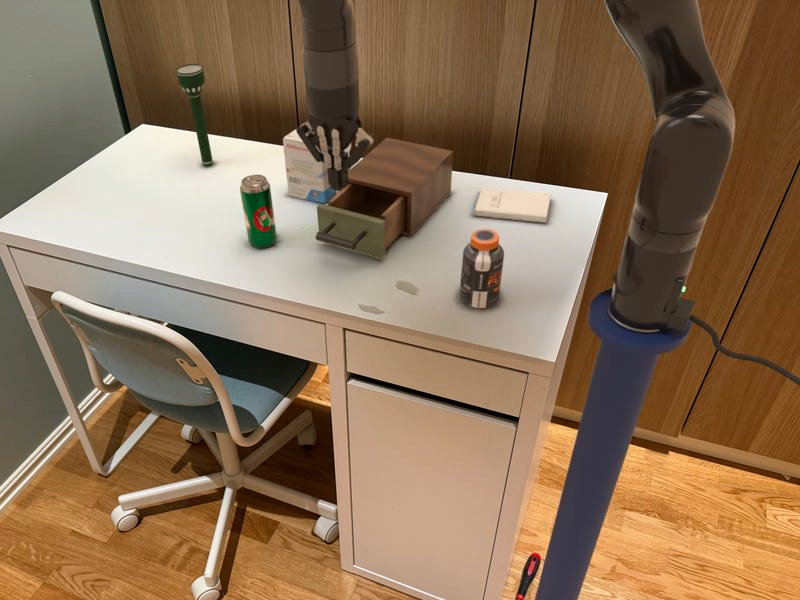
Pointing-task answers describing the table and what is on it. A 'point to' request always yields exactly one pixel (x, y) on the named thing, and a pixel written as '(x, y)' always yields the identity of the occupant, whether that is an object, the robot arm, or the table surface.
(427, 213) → the cabinet
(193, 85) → the flashlight
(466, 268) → the pill bottle
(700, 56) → the robot arm
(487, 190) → the hard drive
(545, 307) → the table surface
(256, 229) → the soda can
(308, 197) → the ink box
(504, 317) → the table surface
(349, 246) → the drawer
